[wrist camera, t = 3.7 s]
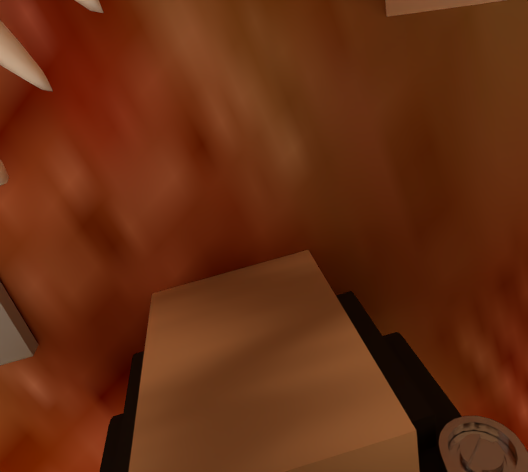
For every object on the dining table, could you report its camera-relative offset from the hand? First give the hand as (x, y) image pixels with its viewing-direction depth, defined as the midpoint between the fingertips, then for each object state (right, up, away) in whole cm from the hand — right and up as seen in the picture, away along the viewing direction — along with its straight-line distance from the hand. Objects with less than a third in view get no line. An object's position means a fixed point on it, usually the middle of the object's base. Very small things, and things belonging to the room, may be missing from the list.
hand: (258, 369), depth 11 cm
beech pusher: (0, 0, +1) cm, 1 cm away
